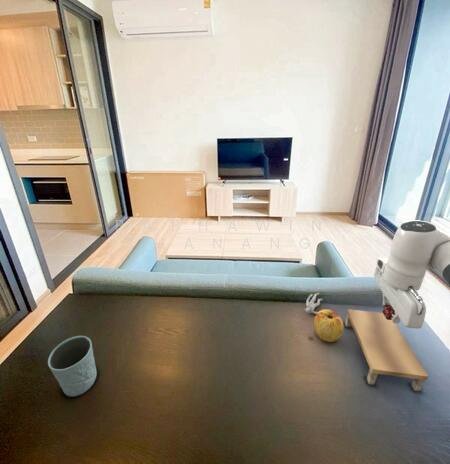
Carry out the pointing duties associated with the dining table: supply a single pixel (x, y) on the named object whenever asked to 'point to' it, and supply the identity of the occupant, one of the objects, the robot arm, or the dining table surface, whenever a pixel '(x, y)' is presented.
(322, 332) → the apple
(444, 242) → the robot arm
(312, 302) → the soldier figure
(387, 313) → the dice
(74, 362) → the grey cup
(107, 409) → the dining table surface
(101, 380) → the dining table surface
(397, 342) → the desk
